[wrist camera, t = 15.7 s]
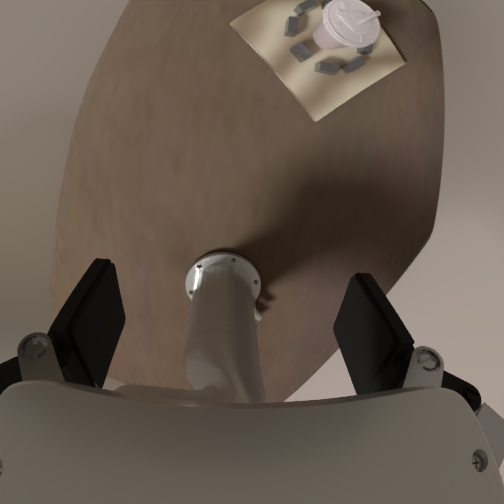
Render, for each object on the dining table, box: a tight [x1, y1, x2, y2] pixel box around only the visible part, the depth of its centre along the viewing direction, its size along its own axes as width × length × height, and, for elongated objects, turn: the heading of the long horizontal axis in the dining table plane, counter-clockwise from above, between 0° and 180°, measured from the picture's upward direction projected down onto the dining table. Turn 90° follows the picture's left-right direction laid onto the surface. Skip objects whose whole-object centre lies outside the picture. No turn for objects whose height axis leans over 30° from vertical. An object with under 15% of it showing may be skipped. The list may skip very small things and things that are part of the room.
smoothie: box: [313, 0, 381, 50], centre depth 21 cm, size 6×6×14 cm
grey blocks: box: [284, 0, 373, 75], centre depth 26 cm, size 11×11×2 cm
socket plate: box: [230, 0, 405, 122], centre depth 28 cm, size 18×18×2 cm
